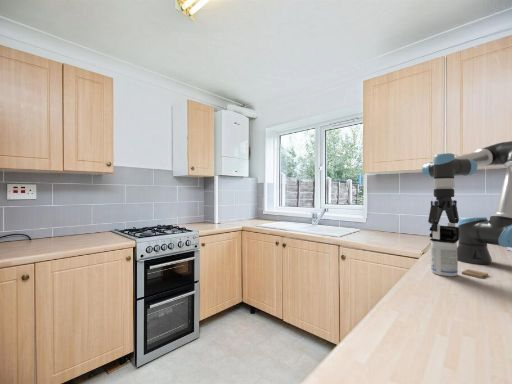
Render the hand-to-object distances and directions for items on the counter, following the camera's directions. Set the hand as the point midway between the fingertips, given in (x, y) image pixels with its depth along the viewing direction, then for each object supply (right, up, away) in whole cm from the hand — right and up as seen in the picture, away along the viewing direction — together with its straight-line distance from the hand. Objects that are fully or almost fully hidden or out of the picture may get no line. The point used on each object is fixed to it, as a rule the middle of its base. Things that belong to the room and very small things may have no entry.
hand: (443, 238), depth 115 cm
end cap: (0, -2, 0) cm, 2 cm away
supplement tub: (0, -16, 0) cm, 16 cm away
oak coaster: (+12, -16, -2) cm, 20 cm away
